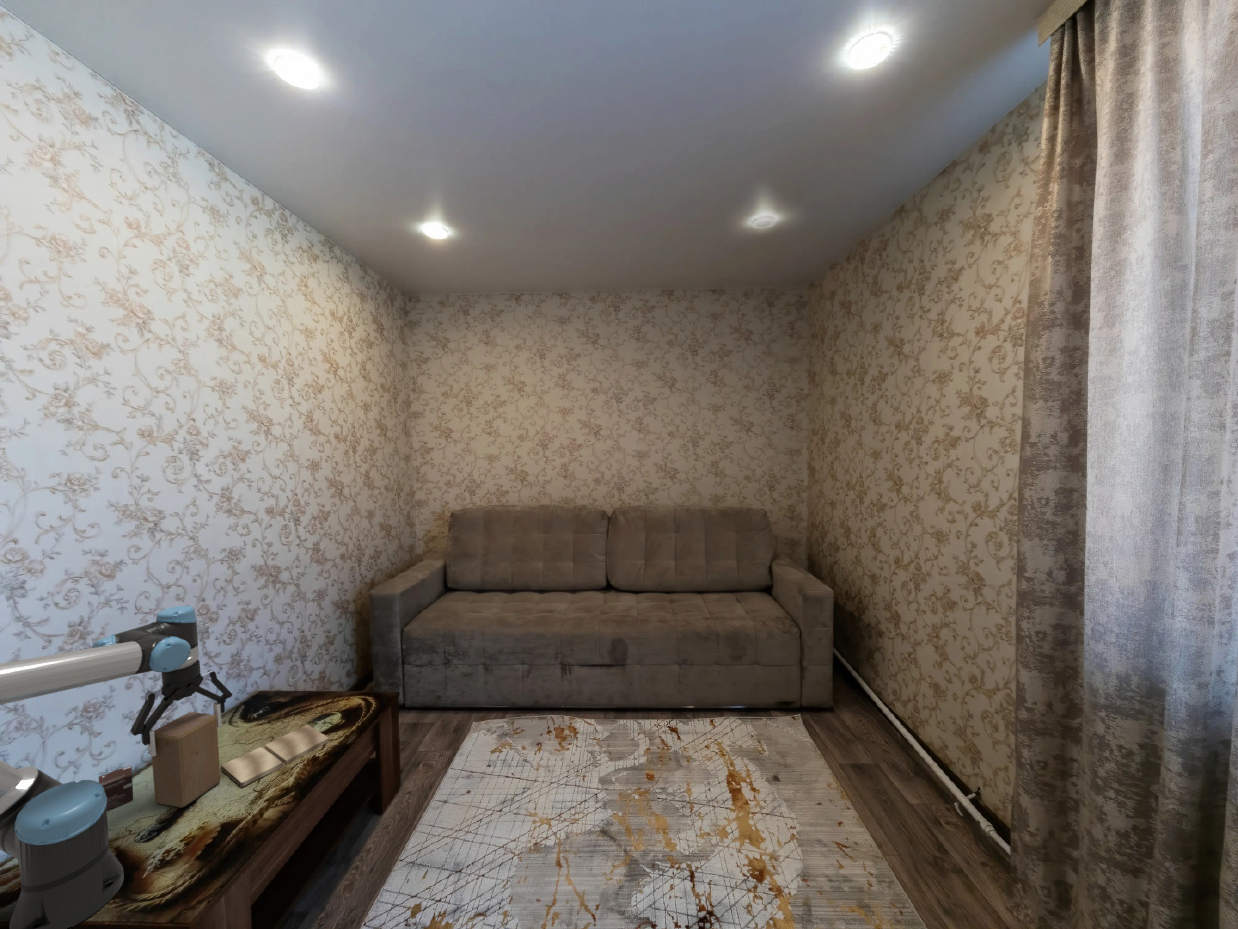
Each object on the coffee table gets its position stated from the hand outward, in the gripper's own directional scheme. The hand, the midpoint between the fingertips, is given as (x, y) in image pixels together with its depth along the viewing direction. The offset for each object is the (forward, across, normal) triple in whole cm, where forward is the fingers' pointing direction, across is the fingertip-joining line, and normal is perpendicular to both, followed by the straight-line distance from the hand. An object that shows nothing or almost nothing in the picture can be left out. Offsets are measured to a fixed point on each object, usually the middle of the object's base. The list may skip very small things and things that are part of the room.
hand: (186, 739), depth 125 cm
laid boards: (+15, +24, -4) cm, 29 cm away
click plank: (+15, +13, -4) cm, 20 cm away
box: (+15, -12, +13) cm, 23 cm away
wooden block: (+15, 0, 0) cm, 15 cm away
